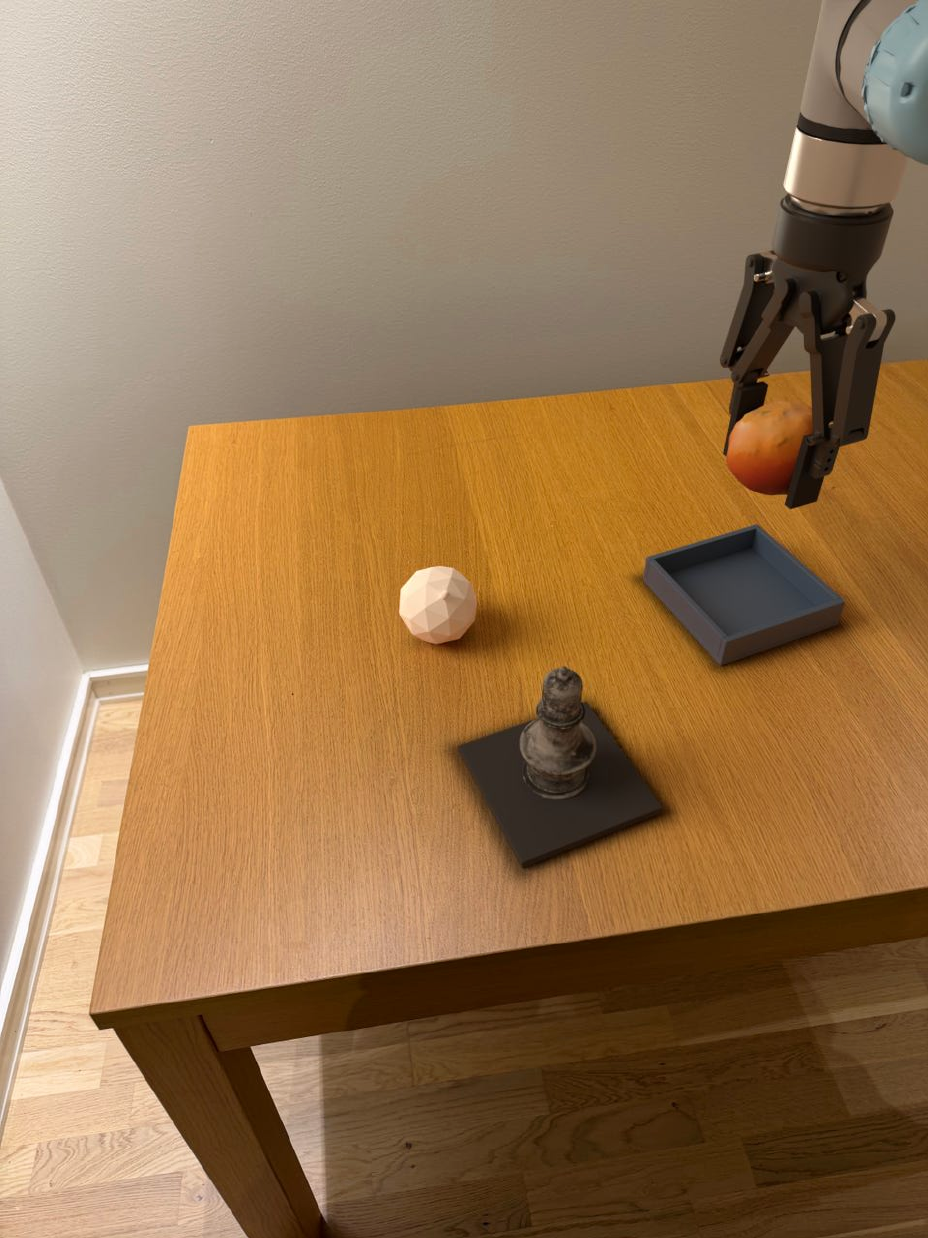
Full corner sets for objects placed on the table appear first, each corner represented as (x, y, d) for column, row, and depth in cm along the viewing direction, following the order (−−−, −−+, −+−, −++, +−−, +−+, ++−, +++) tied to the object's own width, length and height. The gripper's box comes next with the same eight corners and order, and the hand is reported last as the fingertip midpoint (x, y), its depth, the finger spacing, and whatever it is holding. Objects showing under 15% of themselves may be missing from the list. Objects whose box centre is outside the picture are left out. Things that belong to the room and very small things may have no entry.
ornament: (484, 607, 86) (501, 588, 78) (436, 665, 84) (449, 651, 77) (428, 561, 86) (440, 537, 78) (379, 618, 84) (387, 599, 76)
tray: (837, 625, 84) (846, 601, 82) (720, 666, 80) (726, 642, 78) (751, 546, 93) (757, 523, 91) (642, 580, 89) (646, 557, 87)
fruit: (830, 508, 71) (799, 419, 68) (737, 525, 76) (704, 443, 73) (853, 459, 76) (824, 375, 73) (764, 478, 81) (734, 400, 78)
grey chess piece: (513, 747, 72) (516, 641, 64) (584, 740, 73) (596, 634, 65) (524, 806, 68) (529, 701, 60) (600, 799, 69) (615, 693, 60)
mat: (661, 813, 68) (663, 807, 68) (521, 869, 65) (522, 863, 65) (586, 707, 77) (586, 701, 76) (458, 751, 73) (457, 745, 73)
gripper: (1000, 237, 55) (888, 531, 71) (786, 151, 69) (732, 412, 85) (906, 257, 53) (812, 556, 69) (705, 165, 67) (665, 429, 83)
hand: (768, 476), depth 77 cm, fingers closed on fruit, 8 cm apart
